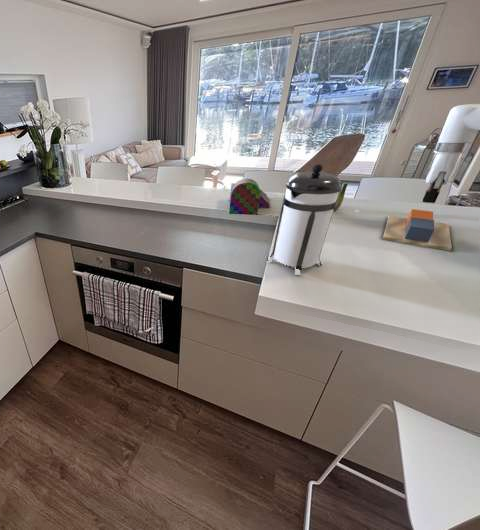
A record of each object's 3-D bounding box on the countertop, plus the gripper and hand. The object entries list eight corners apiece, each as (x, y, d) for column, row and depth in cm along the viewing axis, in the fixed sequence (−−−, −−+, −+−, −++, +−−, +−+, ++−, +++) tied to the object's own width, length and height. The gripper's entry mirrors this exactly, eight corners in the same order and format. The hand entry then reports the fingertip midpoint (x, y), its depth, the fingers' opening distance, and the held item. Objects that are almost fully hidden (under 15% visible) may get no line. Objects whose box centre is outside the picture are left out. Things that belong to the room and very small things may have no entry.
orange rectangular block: (427, 223, 102) (433, 211, 100) (427, 232, 97) (433, 220, 94) (406, 220, 105) (411, 209, 103) (405, 229, 100) (410, 217, 98)
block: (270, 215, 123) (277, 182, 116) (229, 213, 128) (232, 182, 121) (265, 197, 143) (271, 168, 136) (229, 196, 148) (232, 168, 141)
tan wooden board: (447, 226, 101) (448, 223, 101) (450, 250, 88) (451, 247, 87) (388, 218, 111) (389, 215, 110) (382, 239, 97) (383, 236, 97)
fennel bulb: (341, 210, 121) (350, 182, 115) (331, 212, 120) (339, 183, 114) (329, 206, 126) (337, 178, 120) (320, 208, 125) (327, 180, 119)
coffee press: (330, 280, 80) (367, 171, 65) (266, 272, 86) (287, 170, 71) (320, 252, 94) (349, 156, 78) (266, 247, 100) (283, 156, 84)
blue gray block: (427, 232, 96) (434, 220, 94) (427, 242, 91) (434, 229, 89) (405, 229, 100) (411, 217, 98) (404, 238, 94) (410, 226, 92)
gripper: (434, 143, 100) (414, 195, 109) (435, 151, 91) (413, 206, 100) (466, 143, 96) (442, 197, 105) (471, 151, 87) (444, 209, 95)
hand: (428, 201), depth 102 cm, fingers closed
